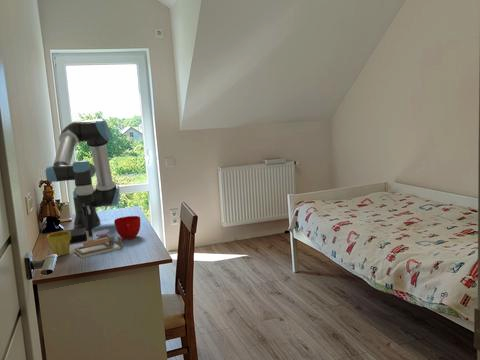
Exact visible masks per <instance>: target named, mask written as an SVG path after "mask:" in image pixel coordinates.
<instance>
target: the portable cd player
mask: <svg viewBox="0 0 480 360" xmlns="http://www.w3.org/2000/svg"><path fill="white" fill-rule="evenodd" d="M85 229H86V228H74V229H68V230H65V231H69V232H71V240H70V244H74V243H80V242H87V233H86V231H85ZM61 231H62V230H60V231H58V232H61ZM55 232H56V231H54V232H52V233H55Z"/></svg>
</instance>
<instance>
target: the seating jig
mask: <svg viewBox="0 0 480 360" xmlns="http://www.w3.org/2000/svg"><path fill="white" fill-rule="evenodd" d="M122 239H123V238H122V237H121V236H120V235H118V236H117V240H118V244H116V243H115V241H112V242H106V243H102V244H97V245H93V246H88V247H83V245H81V246H78V247H74V251H73V252H74V253H75V254H77V255H78V256H79V257H80V258H87V257H90V256H91V257H92V256H94V255H99V254H103V253H107V252H112V251H116V250H121V249H123V240H122Z"/></svg>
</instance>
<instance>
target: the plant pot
mask: <svg viewBox="0 0 480 360" xmlns="http://www.w3.org/2000/svg"><path fill="white" fill-rule="evenodd" d="M60 231H61V232H59V231H54V232H55V233H53V232H52V233H50V234H47V236H46V239H47V243H48V244H49V245H50V248H51V250H52V251H51V252H52V253H53V255H54V254H57V255H62V256H66V255H68V254H69V253H70V245H71V243H70V240H71V232H69V231H66V230H60Z"/></svg>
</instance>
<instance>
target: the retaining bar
mask: <svg viewBox="0 0 480 360" xmlns="http://www.w3.org/2000/svg"><path fill="white" fill-rule="evenodd" d="M112 241H114V242H115V236H114V235H109V236H108V237H106V238H101V239H97V238H96V239H94V240H92V241H82V246H83V247H88V246H93V245H97V244H102V243H107V242H112Z"/></svg>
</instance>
